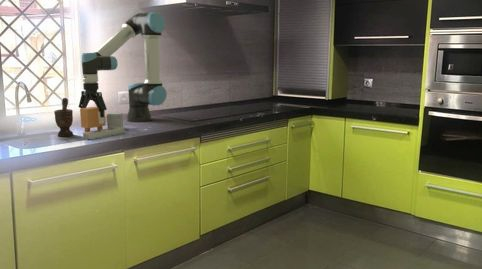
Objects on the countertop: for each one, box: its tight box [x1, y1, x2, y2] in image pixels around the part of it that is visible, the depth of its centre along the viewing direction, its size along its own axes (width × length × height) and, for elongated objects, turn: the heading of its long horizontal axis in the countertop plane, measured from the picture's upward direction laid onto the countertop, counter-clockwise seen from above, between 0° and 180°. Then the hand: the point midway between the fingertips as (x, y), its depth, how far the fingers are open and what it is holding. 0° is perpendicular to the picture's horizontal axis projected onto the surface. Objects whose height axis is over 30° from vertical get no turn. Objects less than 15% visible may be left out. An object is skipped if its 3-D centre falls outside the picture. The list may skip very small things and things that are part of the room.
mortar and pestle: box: [54, 97, 74, 137], centre depth 224 cm, size 12×9×20 cm
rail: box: [82, 126, 126, 140], centre depth 225 cm, size 22×5×3 cm, turn 146°
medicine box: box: [106, 112, 124, 128], centre depth 245 cm, size 8×4×9 cm, turn 92°
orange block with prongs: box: [79, 105, 107, 133], centre depth 235 cm, size 11×6×13 cm, turn 146°
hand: (93, 122), depth 236 cm, fingers open, 13 cm apart
